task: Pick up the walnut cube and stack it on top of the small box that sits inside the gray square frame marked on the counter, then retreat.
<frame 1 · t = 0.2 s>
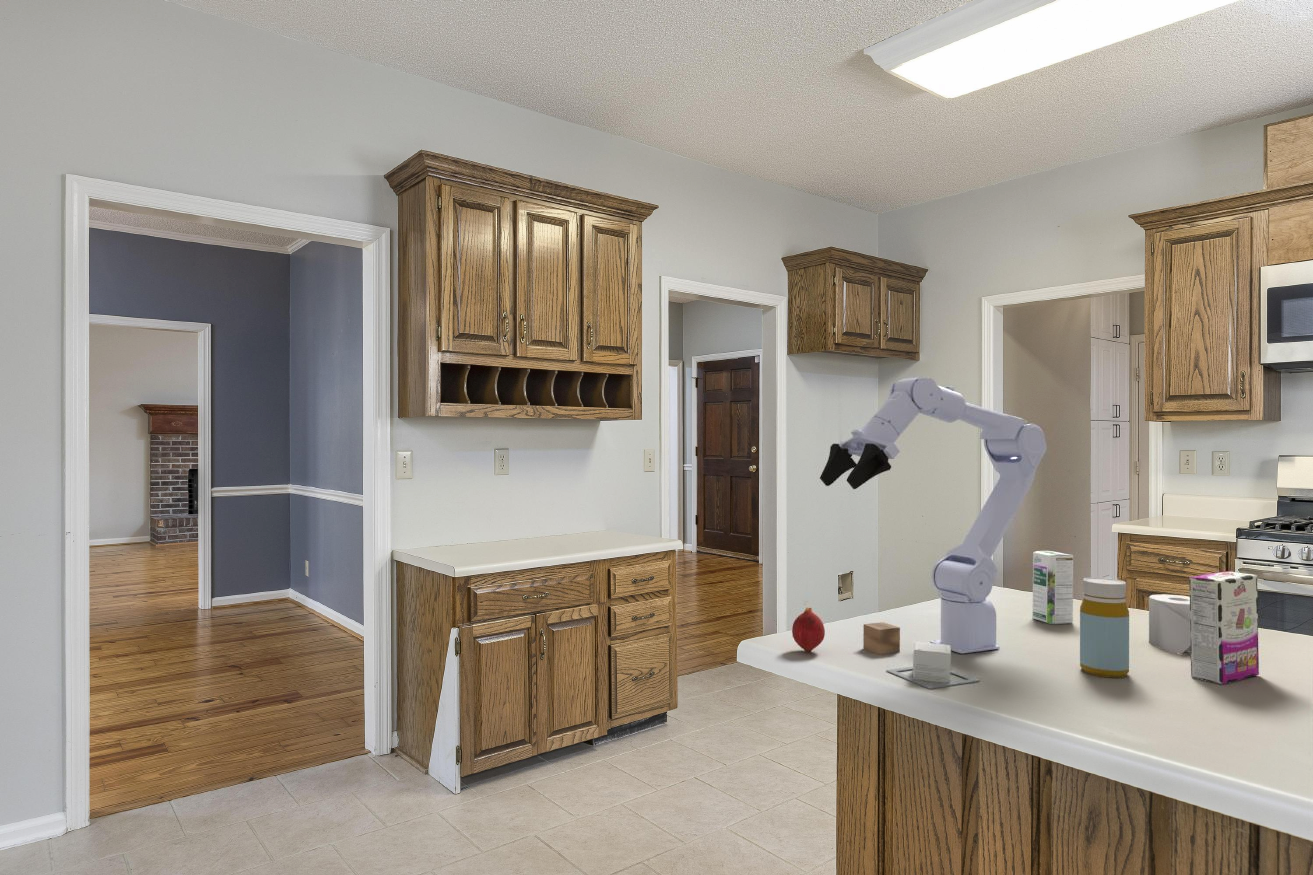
hand: (837, 483, 134), 31 cm above the table, tool tilted 45°, fingers open, 7 cm apart
gray square frame: (931, 676, 126), on the table
bottle: (1104, 673, 129), on the table
walnut cube: (881, 650, 142), on the table
toilet tissue: (1179, 647, 145), on the table
onion: (808, 652, 140), on the table
syrup box: (1052, 621, 166), on the table
small box: (931, 678, 126), on the table
candy bar box: (1223, 677, 127), on the table
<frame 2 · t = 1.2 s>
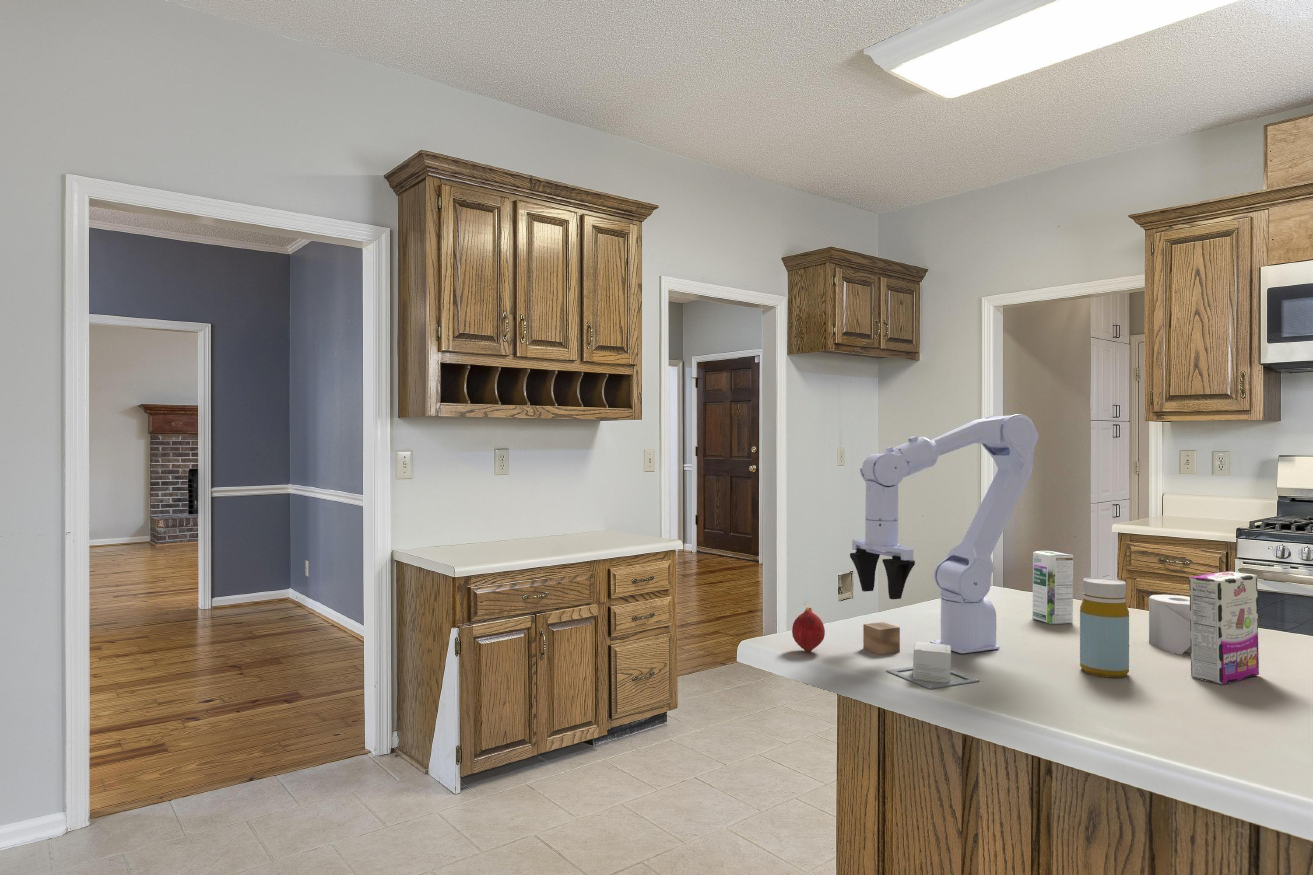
hand: (881, 594, 142), 10 cm above the table, tool pointing down, fingers open, 7 cm apart
nothing on the table moved.
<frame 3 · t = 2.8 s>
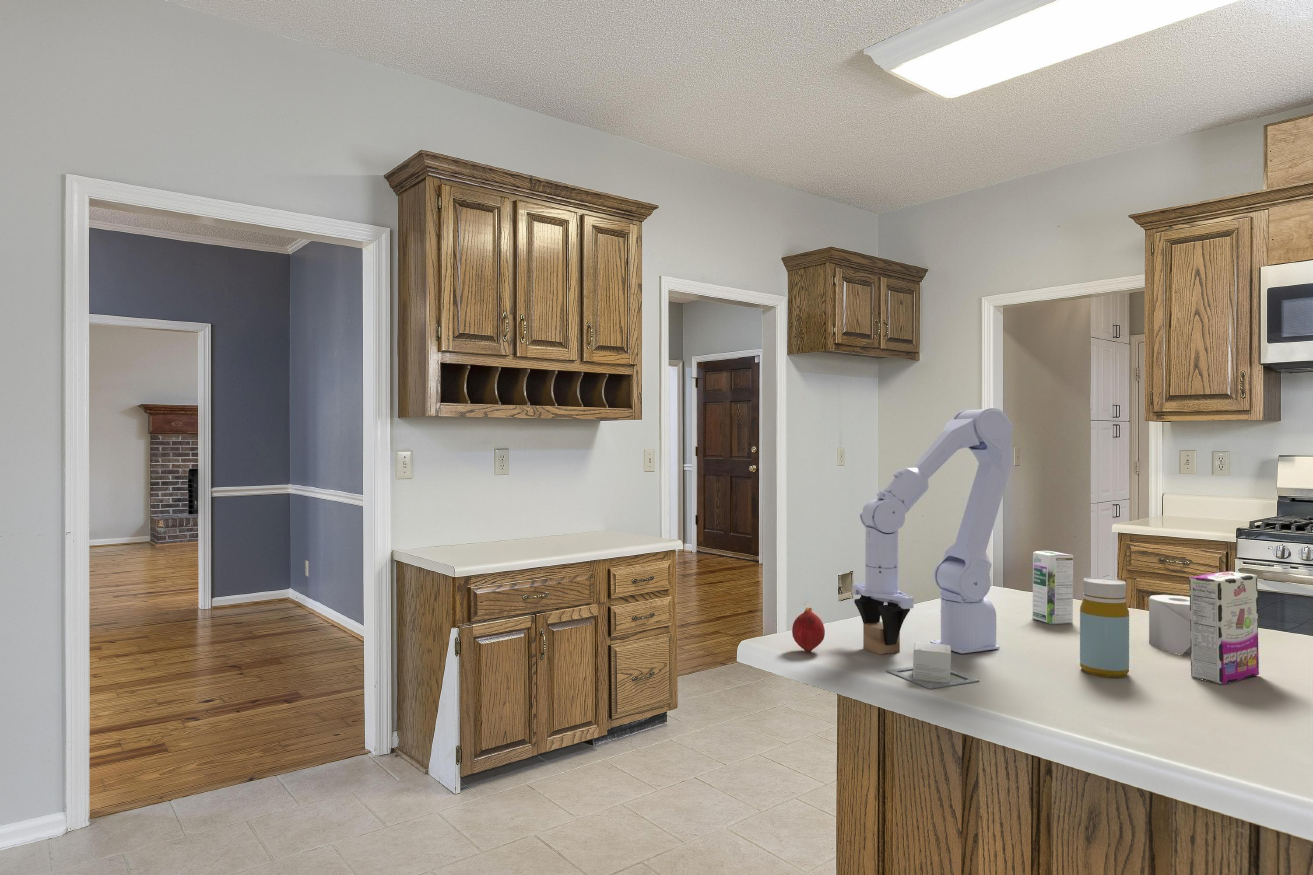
hand: (881, 641, 142), 2 cm above the table, tool pointing down, fingers closed on walnut cube, 4 cm apart
walnut cube: (881, 650, 142), on the table, touching gripper
everything else where it was.
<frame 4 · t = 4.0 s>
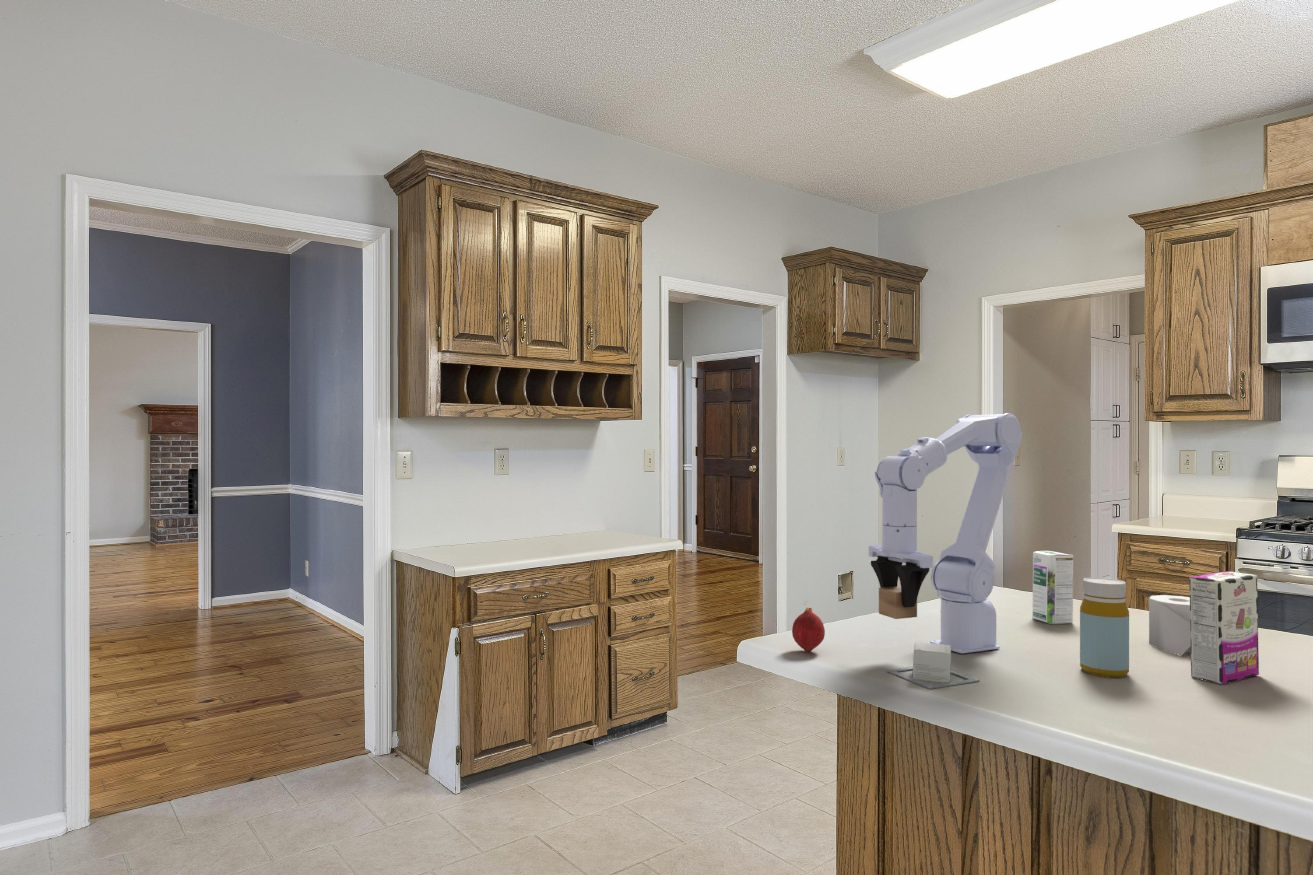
hand: (899, 603, 136), 10 cm above the table, tool pointing down, fingers closed on walnut cube, 4 cm apart
walnut cube: (897, 615, 136), point 8 cm above the table, touching gripper
everything else where it was.
when the fingers open (8 cm above the table, at t = 5.3 s): walnut cube drops 1 cm, resting on small box.
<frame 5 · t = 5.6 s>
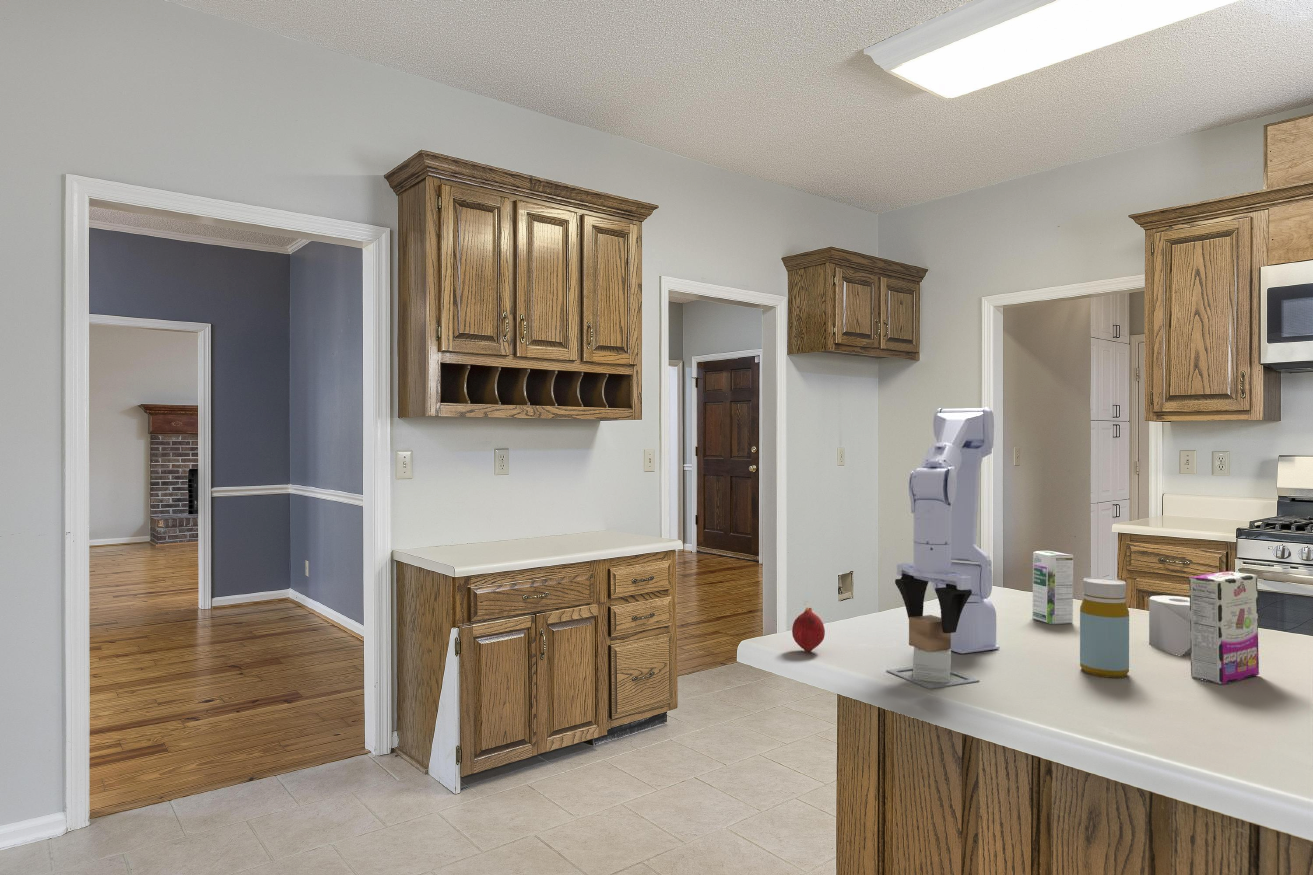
hand: (931, 627, 126), 8 cm above the table, tool pointing down, fingers open, 7 cm apart
walnut cube: (929, 646, 126), point 5 cm above the table, touching small box
small box: (931, 678, 126), on the table, touching walnut cube
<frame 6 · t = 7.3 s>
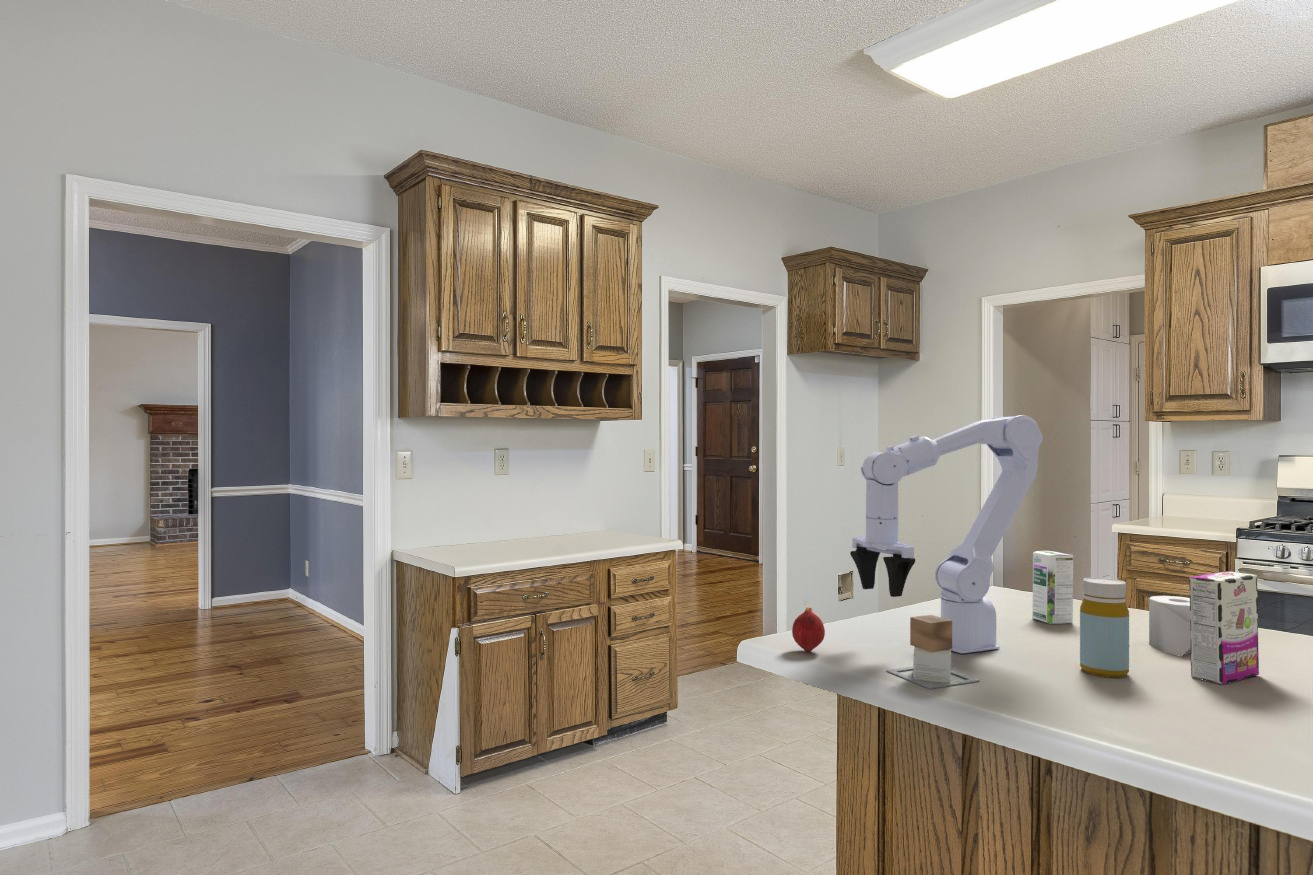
hand: (881, 592, 143), 10 cm above the table, tool pointing down, fingers open, 7 cm apart
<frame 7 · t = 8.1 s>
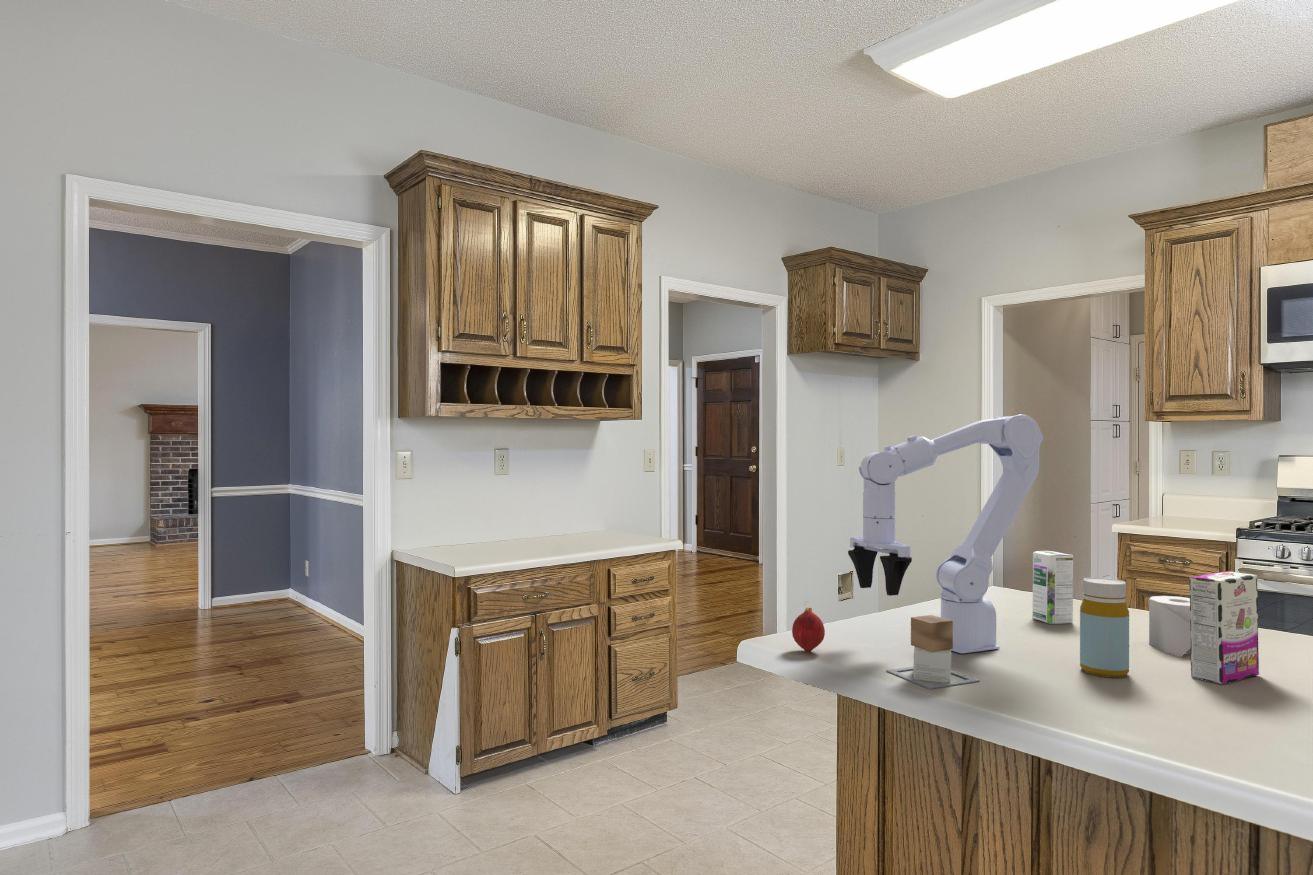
hand: (878, 591, 144), 10 cm above the table, tool pointing down, fingers open, 7 cm apart
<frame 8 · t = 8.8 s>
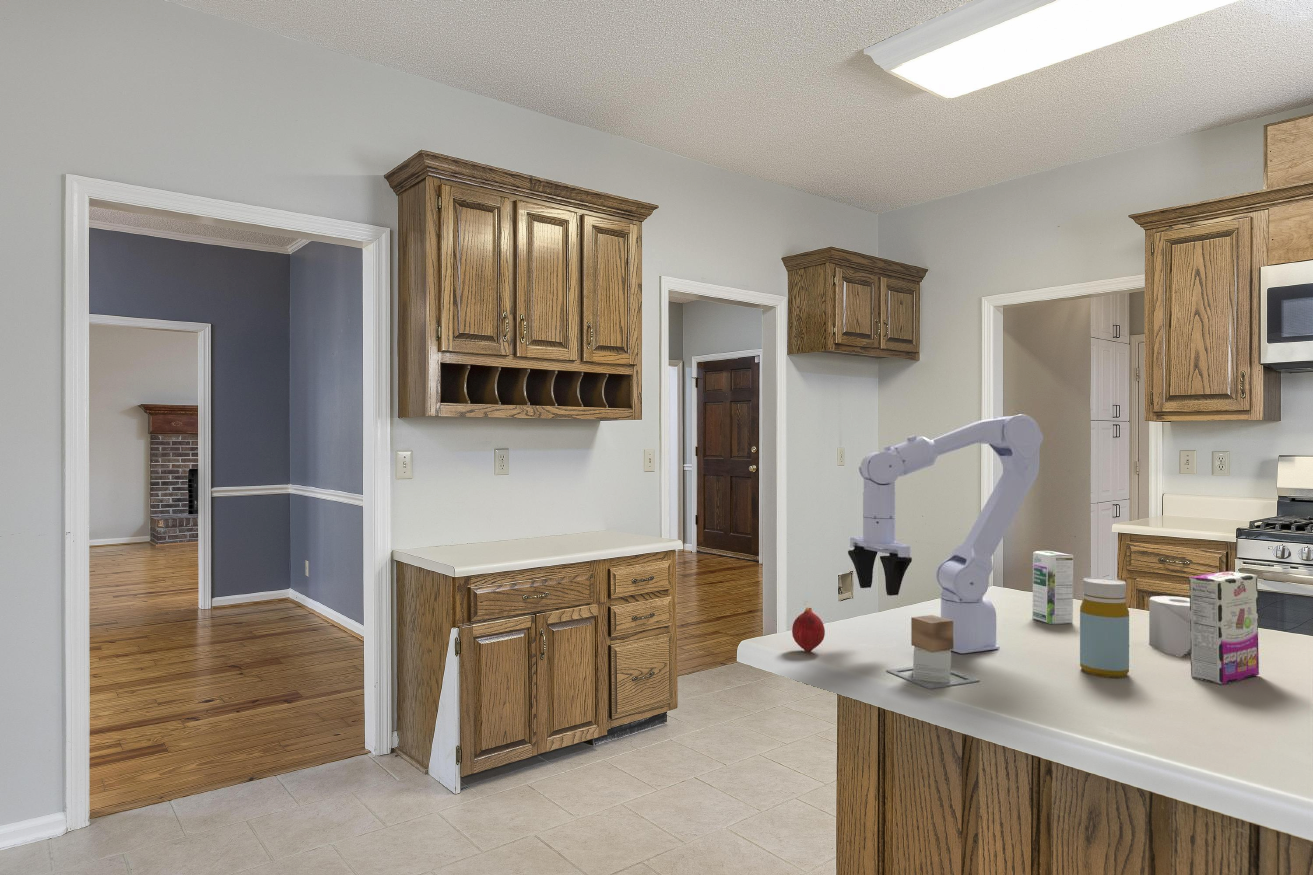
hand: (878, 591, 144), 10 cm above the table, tool pointing down, fingers open, 7 cm apart
at the end: walnut cube 0.1 cm off-centre on the small box, point 5.1 cm above the small box's base; walnut cube tilted 0°; small box moved 0.4 cm from its start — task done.
